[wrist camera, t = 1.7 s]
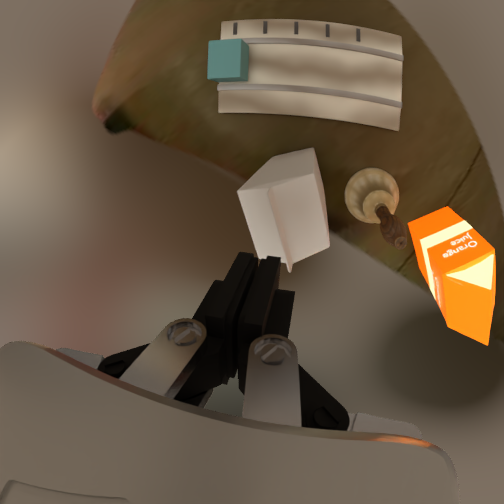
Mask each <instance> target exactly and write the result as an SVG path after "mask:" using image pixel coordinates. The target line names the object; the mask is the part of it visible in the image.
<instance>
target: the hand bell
mask: <svg viewBox="0 0 504 504" xmlns="http://www.w3.org/2000/svg"><path fill="white" fill-rule="evenodd" d="M344 195H345V202H346V206H347V208H348V210H349V211H350V213H351V214H352V215H353V216H354V217H355V218H357V219H359V220H361V221H363V222H367V223H380V229H381V233H382V235H383V237H384V239H385V240H386V241H387V242H388V243H389V244H391V245H392V246H395V247H396V248H397V249H404V248H405V246H406V245H407V231H406V227H405V225H404V224H403V222H402V221H401V220H400V219H399V218H398V217H397V216H395V215H393V214H394V212H395V209H396V207H397V205H398V201H399V190H398V186H397V183H396V181H395V180H394V178H393V177H392V176H391V175H390V174H389V173H387V172H386V171H384V170H382V169H379V168H365V169H362V170H360V171H358V172H356V173H355V174H354V175H353V176H352V177H351V178H350V180H349V181H348V183H347V185H346V188H345V194H344Z"/></svg>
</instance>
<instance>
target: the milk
mask: <svg viewBox="0 0 504 504" xmlns="http://www.w3.org/2000/svg"><path fill="white" fill-rule="evenodd" d="M237 193H238V196H239V199H240V202H241V205H242V208H243V211H244V214H245V217H246V220H247V224H248V227H249V230H250V233H251V236H252V239H253V242H254V245H255V248H256V251H257V254H258V257H259V259H262V258H263V259H266V258H267V256H276V257H281V262H283V263H286V264H287V268H288V271H289V272H291V269H292V264H293V263H295V262H297V261H299V260H302V259H304V258H306V257H308V256H311V255H313V254H315V253H317V252H319V251H322V250H324V249H326V248H328V247H330V240H329V229H328V220H327V211H326V202H325V194H324V187H323V183H322V178H321V174H320V170H319V166H318V162H317V158H316V154H315V151H314V148H313V147H312V148H308V149H303V150H299V151H294V152H290V153H286V154H282V155H277V156H273V157H272V158H271V159H270V160H269V161H268V162H266V163H265V164H264V165H263V166H262V167H261V168H260V169H259V170H258V171H257V172H256V173H255V174H254V175H253V176H252V177H251V178H250V179H249V180H248V181H247V182H246V183H245V184H244V185H243V186H242V187H241V188H240V189H239V190H238V191H237Z"/></svg>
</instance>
